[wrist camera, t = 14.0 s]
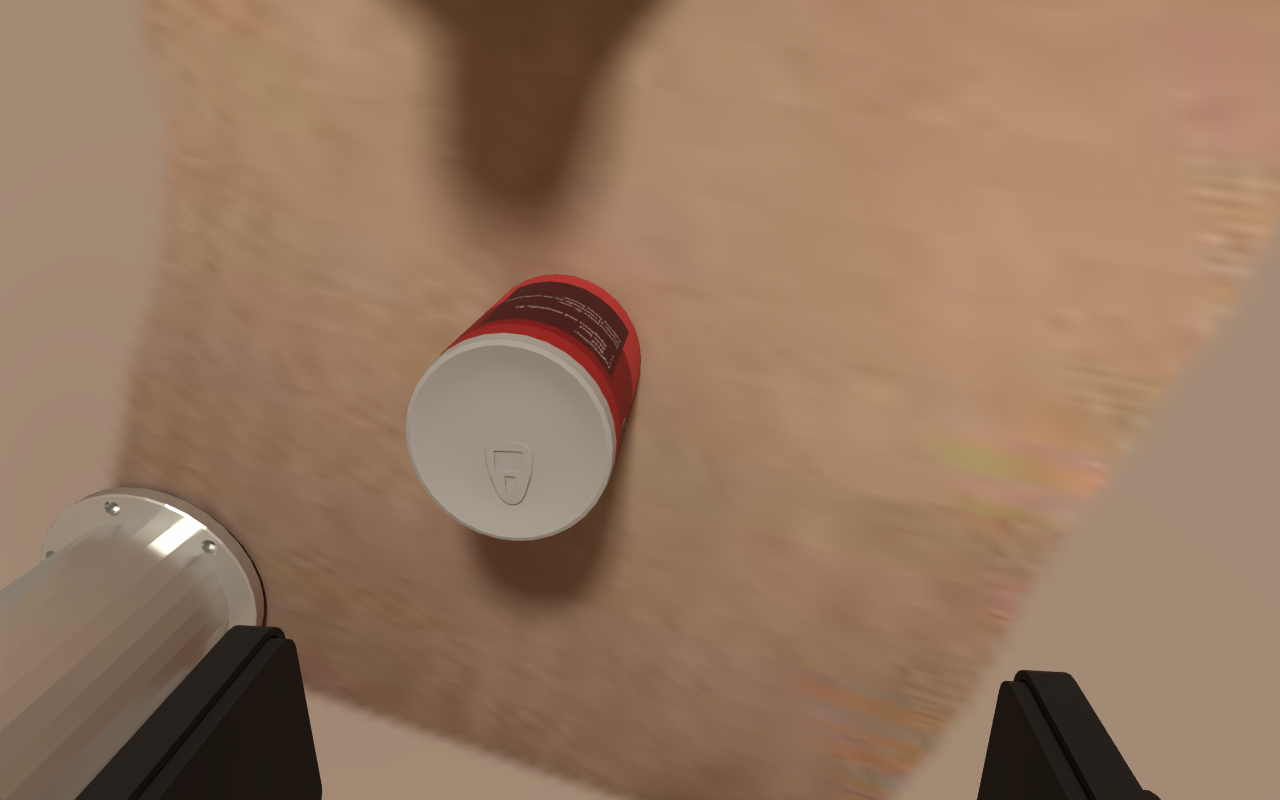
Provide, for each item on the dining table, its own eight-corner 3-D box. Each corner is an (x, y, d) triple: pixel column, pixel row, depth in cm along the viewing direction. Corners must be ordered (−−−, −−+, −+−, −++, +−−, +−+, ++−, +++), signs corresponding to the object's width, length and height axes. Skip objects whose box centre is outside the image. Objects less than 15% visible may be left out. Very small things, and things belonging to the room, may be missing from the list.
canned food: (517, 442, 41) (449, 560, 30) (463, 293, 38) (367, 368, 28) (663, 408, 39) (641, 521, 29) (616, 251, 36) (575, 313, 26)
